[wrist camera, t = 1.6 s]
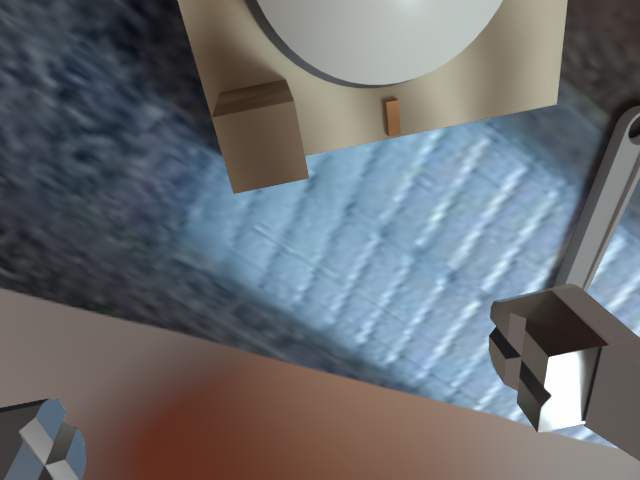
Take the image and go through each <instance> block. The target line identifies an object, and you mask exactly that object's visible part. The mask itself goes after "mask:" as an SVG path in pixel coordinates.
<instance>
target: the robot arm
mask: <svg viewBox="0 0 640 480" xmlns="http://www.w3.org/2000/svg"><path fill="white" fill-rule="evenodd" d="M490 318H491V320H492V321H493V322H494V324H495V325H496V327H495V329H494V330H493V331H492V333H491V334H490V335H489V352H490V356H491V360H492V363H493V366H494V368H495V370H496V372H497V374H498V375H499V377H500V378H501V380H502V381H503V383H504V384H505V385H507V386H509V387H511V388H513V389H515V390H517V391H518V396H517V404H518V405H519V407H520V408H521V409H522V411H523V412H524V414H525V415H526V417H527V418H528V420H529V421H530V423H531V424H532V425H533V427H534V428H535V430H536V431H537V433H539V432H544V431H549V430H554V429H559V428H563V427H568V426H573V425H578V424H583V423H585V424H584V426H585V427H587V428H588V429H590V430H592V431H593V432H595V433H596V434H598V435H599V436H601V437H603V438H604V439H606V440H607V441H609V442H611V443H612V444H614V445H615V446H617V447H618V448H620V449H622V450H623V451H625V452H626V453H628V454H629V455H631V456H633V457H634V458H636V459H637V460H639V461H640V338H639V337H638V336H637V335H636V334H634V333H633V332H632V331H631V330H630V329H629V328H627V327H626V326H625V325H624V324H623V323H621V322H620V321H619V320H618V319H617V318H616V317H614V316H613V315H612V314H611V313H610V312H608V311H607V310H606V309H605V308H604V307H603V306H601V305H600V304H599V303H598V302H597V301H595V300H594V299H593V298H592V297H591V296H590V295H588V294H587V293H586V292H585V291H584V290H582V289H581V288H580V287H579V286H577V285H574V284H571V283H569V284H565V285H561V286H556V287H552V288H548V289H545V290H541V291H537V292H532V293H528V294H523V295H519V296H515V297H510V298H506V299H501V300H497V301H494V302H493V304H492V306H491V313H490ZM65 415H66V410H65V409H64V407H63V406H62V404H61V403H60V402H59V400H58V399H44V400H39V401H34V402H29V403H23V404H18V405H13V406H8V407H4V408H0V480H81V478H82V474H83V471H84V468H85V460H86V447H85V444H84V440H83V437H82V435H81V433H80V432H79V430H78V429H77V428H76V427H74V426H72V425H69V424H68V423H65V422H63V421H64V417H65Z"/></svg>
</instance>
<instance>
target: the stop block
mask: <svg viewBox="0 0 640 480" xmlns="http://www.w3.org/2000/svg"><path fill="white" fill-rule="evenodd" d="M212 121H213V124H214V128H215V131H216V135H217V138H218V142H219V145H220V148H221V152H222V155H223V159H224V162H225V166H226V169H227V173H228V176H229V180H230V183H231V187H232V190H233V193H234V194H235V193H240V192H245V191H250V190H254V189H259V188H264V187H269V186H274V185H279V184H283V183H288V182H293V181H298V180H303V179H308V178H309V175H308V170H307V165H306V160H305V154H304V149H303V144H302V139H301V133H300V128H299V123H298V118H297V112H296V107H295V102H294V99H293V96H292V94H291V91H290V88H289V86H288V83H287V81H286V79H285V80H280V81H275V82H270V83H265V84H260V85H255V86H250V87H245V88H240V89H235V90H230V91H225V92H220V94H219V97H218V100H217V103H216V106H215V109H214V112H213V115H212Z"/></svg>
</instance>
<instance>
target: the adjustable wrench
mask: <svg viewBox="0 0 640 480" xmlns="http://www.w3.org/2000/svg"><path fill="white" fill-rule="evenodd" d="M639 116H640V106H635V107H633V108H630V109H629V110H627V111H626V112H625V113H624V114H623V115H622V116H621V117H620V118H619V120H618V122H617V124H616V126H615V129H614V132H613V134H612V137H611V139H610V142H609V144H608V147H607V149H606V152H605V155H604V157H603V160H602V162H601V165H600V167H599V170H598V173H597V175H596V178H595V180H594V183H593V185H592V188H591V191H590V193H589V196H588V198H587V201H586V203H585V206H584V208H583V211H582V214H581V216H580V219H579V221H578V224H577V226H576V229H575V232H574V234H573V237H572V239H571V242H570V244H569V247H568V250H567V252H566V255H565V257H564V260H563V262H562V265H561V267H560V270H559V273H558V275H557V278H556V280H555V283H554V285H553V287H556V286H561V285H565V284H569V283H571V284H574V285H577V286H579V287H580V288H581V289H582V290H584V291H585V292H586V293H587V290H588V288H589V286H590V284H591V282H592V280H593V277H594V275H595V273H596V271H597V269H598V267H599V264H600V262H601V260H602V258H603V256H604V254H605V251H606V249H607V247H608V245H609V243H610V241H611V238H612V236H613V234H614V232H615V230H616V228H617V225H618V223H619V221H620V219H621V217H622V215H623V212H624V210H625V208H626V206H627V204H628V201H629V199H630V197H631V195H632V193H633V191H634V188H635V186H636V184H637V182H638V180H639V178H640V134H639V135H637V136H636V137H634V138H628V132H629V128H630V126H631V125H632V123H633V122H634V120H635V119H636V118H637V117H639Z"/></svg>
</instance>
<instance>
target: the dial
mask: <svg viewBox="0 0 640 480" xmlns="http://www.w3.org/2000/svg"><path fill="white" fill-rule="evenodd" d="M502 1H503V0H257V2H258V4H259V6H260V7H261V9H262V11H263V13H264V15H265V17H266V19H267V20H268V21H269V23H270V24H271V26H272V27H273V29H274V30H275V31H276V33H277V34H278V36H279V37H280V38H281V39H282V40H283V41H284V42H285V43H286V44H287V45H288V47H289V48H290V49H291V50H292V51H294V52H295V53H296V54H297V55H298V56H299V57H301V58H302V59H303V60H304V61H306V62H307V63H309V64H310V65H312V66H313V67H315V68H317V69H318V70H320V71H322V72H324V73H326V74H328V75H331V76H333V77H335V78H338V79H342V80H345V81H348V82H352V83H359V84H366V85H386V84H393V83H400V82H404V81H407V80H411V79H415V78H417V77H420V76H422V75H425V74H427V73H429V72H432V71H433V70H435V69H437V68H439V67H440V66H442V65H444V64H446V63H447V62H448V61H450V60H451V59H452V58H454V57H455V56H456V55H458V54H459V53H460V52H462V51H463V50H464V49H465V48H466V47H467V46H468V45H469V44H470V43H471V42H472V41H473V40H474V39H475V38H476V37H477V36H478V35H479V34H480V32H481V31H482V30H483V29H484V28H485V27H486V25H487V24H488V23H489V21H490V20H491V18H492V17H493V15H494V14H495V13H496V11H497V10H498V8H499V6H500V5H501V3H502Z"/></svg>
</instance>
